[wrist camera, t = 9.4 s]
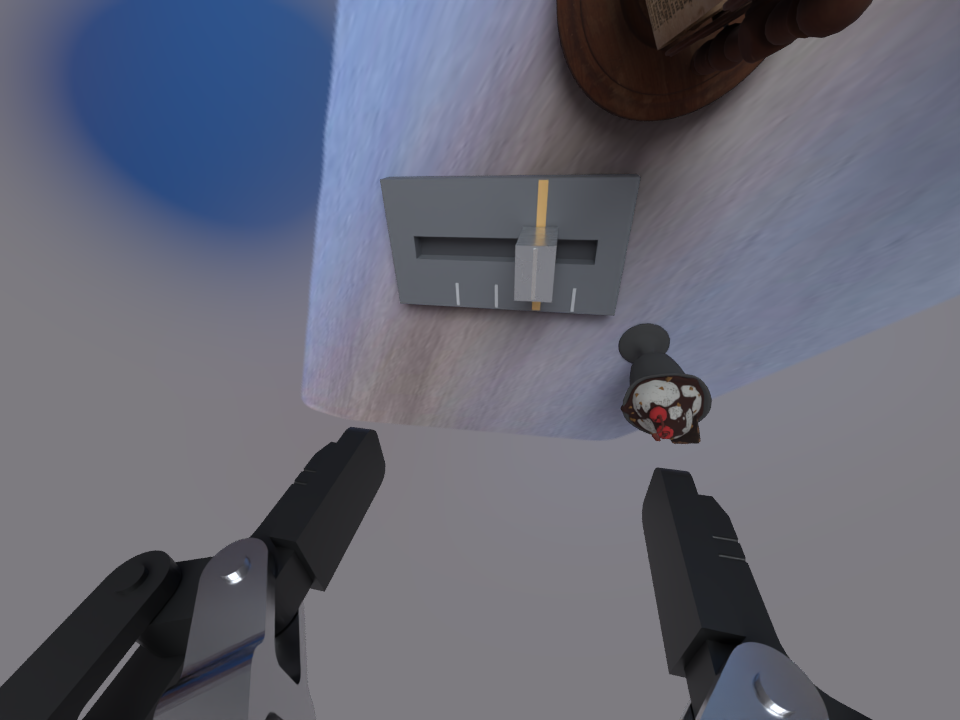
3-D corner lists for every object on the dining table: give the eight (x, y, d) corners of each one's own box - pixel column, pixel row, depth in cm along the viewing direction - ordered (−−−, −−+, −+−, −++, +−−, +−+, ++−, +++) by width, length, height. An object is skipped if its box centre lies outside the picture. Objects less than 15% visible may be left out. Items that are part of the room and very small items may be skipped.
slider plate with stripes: (636, 173, 30) (641, 177, 28) (612, 307, 36) (614, 316, 34) (389, 176, 34) (379, 179, 32) (407, 296, 40) (400, 303, 38)
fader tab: (558, 223, 32) (556, 246, 26) (554, 271, 34) (551, 303, 28) (525, 223, 33) (515, 245, 26) (523, 270, 35) (514, 301, 29)
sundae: (609, 318, 37) (631, 415, 25) (682, 313, 35) (744, 414, 23) (609, 371, 40) (627, 479, 28) (675, 369, 38) (726, 483, 26)
